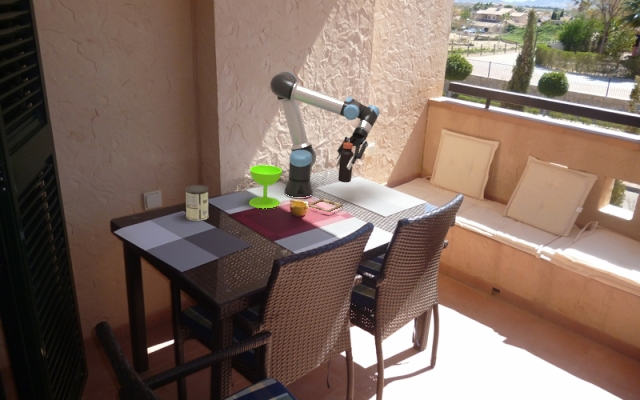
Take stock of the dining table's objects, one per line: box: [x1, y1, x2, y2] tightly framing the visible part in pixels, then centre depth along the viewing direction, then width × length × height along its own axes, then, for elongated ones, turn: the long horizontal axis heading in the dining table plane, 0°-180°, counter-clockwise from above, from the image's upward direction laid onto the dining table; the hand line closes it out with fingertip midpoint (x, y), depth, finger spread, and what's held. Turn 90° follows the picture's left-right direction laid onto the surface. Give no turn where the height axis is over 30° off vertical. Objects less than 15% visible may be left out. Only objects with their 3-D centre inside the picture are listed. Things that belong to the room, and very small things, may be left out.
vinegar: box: [337, 142, 355, 183], centre depth 265 cm, size 7×7×20 cm
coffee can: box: [185, 184, 209, 222], centre depth 236 cm, size 10×10×14 cm
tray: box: [307, 198, 344, 212], centre depth 260 cm, size 13×13×2 cm
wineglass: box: [248, 164, 283, 210], centre depth 259 cm, size 16×16×18 cm
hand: (342, 166), depth 263 cm, fingers closed on vinegar, 6 cm apart
